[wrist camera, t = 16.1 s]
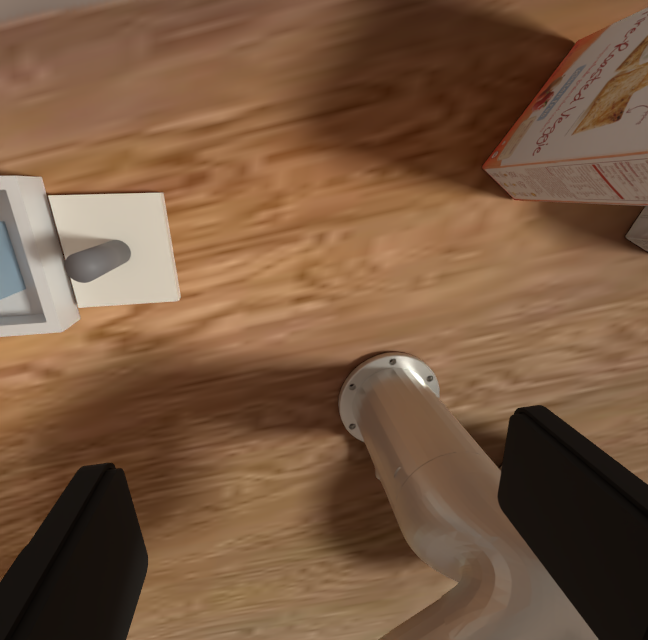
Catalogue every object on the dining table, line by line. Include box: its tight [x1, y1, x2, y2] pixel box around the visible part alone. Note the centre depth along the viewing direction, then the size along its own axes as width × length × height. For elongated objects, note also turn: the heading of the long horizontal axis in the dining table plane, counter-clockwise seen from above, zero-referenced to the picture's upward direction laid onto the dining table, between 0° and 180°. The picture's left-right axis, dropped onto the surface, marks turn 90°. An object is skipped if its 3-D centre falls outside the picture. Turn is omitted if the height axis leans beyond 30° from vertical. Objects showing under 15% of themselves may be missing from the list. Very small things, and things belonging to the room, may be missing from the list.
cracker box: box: [482, 7, 648, 206], centre depth 27 cm, size 14×6×21 cm, turn 144°
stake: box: [48, 193, 181, 308], centre depth 30 cm, size 10×9×8 cm
